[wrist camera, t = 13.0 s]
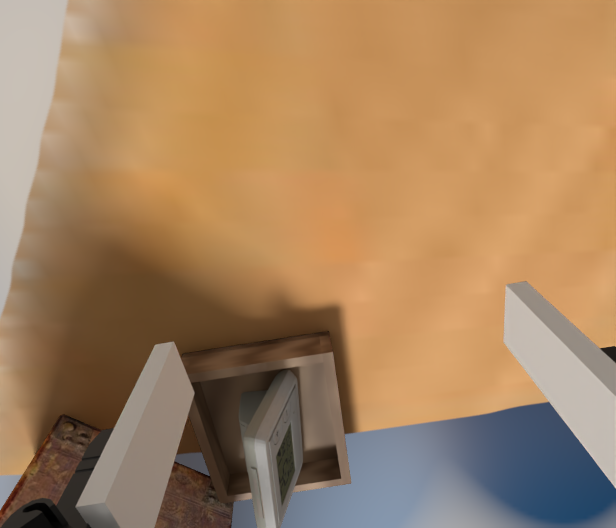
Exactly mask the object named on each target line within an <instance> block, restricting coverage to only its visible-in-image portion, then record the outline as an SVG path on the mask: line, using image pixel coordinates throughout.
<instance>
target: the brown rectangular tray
mask: <svg viewBox="0 0 616 528" xmlns="http://www.w3.org/2000/svg"><path fill="white" fill-rule="evenodd" d="M181 360H182V363H183V365H184V368H185V370H186V373H187V375H188V378H189V380H190V383H191V385H192V388H193V390H194V397H193V400H192V403H191V407H190V410H189V413H188V415H189V418H190V420H191V423H192V426H193V429H194V432H195V435H196V437H197V440H198V443H199V446H200V449H201V451H202V454H203V457H204V460H205V463H206V465H207V468H208V471H209V474H210V477H211V479H212V482H213V485H214V488H215V491H216V494H217V496H218V499H219V502H220V504H221V503H228V502H234V501H241V500H247V499H252V494H251V488H250V482H249V475H248V472H247V467H246V461H245V455H244V448H243V442H242V436H241V430H240V424H239V407H240V399H241V394H242V393H244V392H252V391H264V390H268V389H269V387H270V385H271V383H272V381H273V380H274V378H275V376H276V375H277V374H278V373H279V372H281V371H283V370H291V372H292V373H293V374H294V375H295V376H296V378H297V383H298V395H299V408H300V421H301V435H302V448H303V463H302V467H301V470H300V473H299V476H298V479H297V482H296V484H295V487H294V490H293V492H299V491H306V490H312V489H319V488H325V487H332V486H338V485H345V484H351V477H350V470H349V463H348V456H347V449H346V442H345V435H344V428H343V420H342V413H341V406H340V399H339V392H338V385H337V378H336V371H335V364H334V356H333V350H332V345H331V340H330V335H329V331H327V332H320V333H314V334H307V335H301V336H294V337H288V338H281V339H275V340H268V341H262V342H255V343H249V344H242V345H236V346H229V347H223V348H216V349H210V350H203V351H197V352H191V353H184V354H182V357H181Z"/></svg>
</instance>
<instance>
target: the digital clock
mask: <svg viewBox="0 0 616 528" xmlns="http://www.w3.org/2000/svg"><path fill="white" fill-rule="evenodd" d="M239 424H240V430H241V436H242V442H243V448H244V455H245V461H246V467H247V472H248V475H249V482H250V488H251V494H252V500H253V507H254V513H255V519H256V524H257V527H258V528H280V526H281V524H282V521H283V518H284V515H285V513H286V510H287V507H288V504H289V501H290V499H291V496H292V493H293V490H294V487H295V484H296V482H297V479H298V476H299V473H300V470H301V467H302V463H303V448H302V435H301V421H300V408H299V395H298V383H297V378H296V376H295V375H294V374H293V373H292V372H291V370H283V371H281V372H279V373H278V374H277V375H276V376H275V378H274V380H273V381H272V383H271V385H270V387H269V389H268V390H264V391H252V392H244V393H242V394H241V399H240V407H239Z"/></svg>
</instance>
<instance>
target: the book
mask: <svg viewBox="0 0 616 528" xmlns="http://www.w3.org/2000/svg"><path fill="white" fill-rule="evenodd" d="M101 431H102V430H99V429H97V428H95V427H92V426H90V425H87V424H85V423H83V422H80V421H78V420H76V419H73V418H71V417H68V416H66V415H62V416H60V417H59V419H58V420H57V422H56V423H55V425H54V426H53V428H52V430H51V431H50V433H49V434H48V436H47V438H46V439H45V441H44V442H43V444H42V445H41V447H40V449H39V450H38V452H37V453H36V455H35V456H34V458H33V460H32V461H31V463H30V464H29V466H28V467H27V469H26V471H25V472H24V474H23V475H22V477H21V479H20V480H19V482H18V483H17V485H16V486H15V488H14V490H13V491H12V493H11V494H10V496H9V497H8V499H7V501H6V502H5V504H4V505H3V507H2V509H1V510H0V528H1V527H2V525H3V524H4V522H5V521H6V520H7V519H8V518H9V517H10V516H11V515H12V514H13V513H14V512H15V511H16V510H18V509H19V508H20V507H21V506H23V505H25V504H27V503H29V502H31V501H32V500H36V499H40V498H47V499H51V500H52V501H53V503H54V504H55V505H57V503H58V501H59V499H60V498H61V496H62V494H63V492H64V490H65V488H66V486H67V485H68V483H69V481H70V479H71V477H72V475H73V474H75V470H76V468H77V466H78V464H79V462H80V461H82V457H83V455H84V453H85V451H86V449H87V447H88V446H89V444H90V443H91V442H92V441H93V439H94V438H95V437H96V436H97V435H98V434H99V433H100V432H101ZM233 503H234V502H228V503H221V504H220V502H219V499H218V496H217V494H216V491H215V488H214V485H213V482H212V479H211V477H210V476H208V475H205V474H203V473H201V472H198V471H196V470H193V469H191V468H189V467H186V466H184V465H182V464H179V463H177V462H175V461H174V464H173V467H172V470H171V474H170V477H169V480H168V484H167V487H166V490H165V494H164V497H163V500H162V504H161V507H160V510H159V514H158V517H157V521H156V524H155V527H154V528H231V523H232V513H233Z"/></svg>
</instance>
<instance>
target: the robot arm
mask: <svg viewBox="0 0 616 528" xmlns="http://www.w3.org/2000/svg"><path fill="white" fill-rule="evenodd" d="M504 343H505V345H506V346H507V347H508V349H509V350H510V351H511V353H512V354H513V355H514V356H515V358H516V359H517V360H518V362H519V363H520V364H521V366H522V367H523V368H524V369H525V371H526V372H527V373H528V375H529V376H530V377H531V379H532V380H533V381H534V382H535V384H536V385H537V386H538V388H539V389H540V390H541V392H542V393H543V394H544V395H545V397H546V398H547V399H548V401H549V402H550V403H551V405H552V406H553V407H554V408H555V410H556V411H557V412H558V414H559V415H560V416H561V417H562V419H563V420H564V422H565V423H566V424H567V425H568V426H569V428H570V429H571V431H572V432H573V433H574V435H575V436H576V437H577V438H578V440H579V441H580V442H581V444H582V445H583V446H584V448H585V449H586V450H587V451H588V453H589V454H590V455H591V457H592V458H593V459H594V461H595V462H596V463H597V464H598V466H599V467H600V468H601V470H602V471H603V472H604V474H605V475H606V476H607V477H608V479H609V480H610V481H611V482H612V484H613V485H614V486H615V488H616V347H615V346H612V347H606V348H599V347H597V346H596V345H595V344H594V343H593V342H592V341H591V340H590V339H589V338H588V337H586V336H585V335H584V334H583V333H582V332H581V331H580V330H579V329H578V328H577V327H576V326H574V325H573V324H572V323H571V322H570V321H569V320H568V319H567V318H566V317H565V316H564V315H562V314H561V313H560V312H559V311H558V310H557V309H556V308H555V307H554V306H553V305H552V304H550V303H549V302H548V301H547V300H546V299H545V298H544V297H543V296H542V295H541V294H540V293H538V292H537V291H536V290H535V289H534V288H533V287H532V286H531V285H530V284H529V283H527V282H526V281H525V282H519V283H513V284H507V285H506V295H505V319H504ZM193 397H194V390H193V388H192V385H191V383H190V380H189V378H188V375H187V373H186V370H185V368H184V365H183V363H182V360H181V358H180V355H179V353H178V350H177V348H176V345H175V343H174V341H173V342H168V343H162V344H156V345H155V346H154V348H153V350H152V352H151V354H150V356H149V358H148V360H147V362H146V365H145V367H144V369H143V371H142V373H141V375H140V377H139V379H138V381H137V383H136V385H135V387H134V389H133V391H132V393H131V395H130V397H129V399H128V401H127V403H126V405H125V407H124V409H123V411H122V413H121V415H120V417H119V419H118V421H117V423H116V425H115V427H114V428H112V429H106V430H102V431H101V432H100V433H99V434H98V435H97V436H96V437H95V438H94V439H93V441H92V442H91V443H90V444H89V446H88V447H87V449H86V451H85V453H84V455H83V457H82V461H80V462H79V464H78V466H77V468H76V470H75V474H73V475H72V477H71V479H70V481H69V483H68V485H67V486H66V488H65V490H64V492H63V494H62V496H61V498H60V499H59V501H58V503H57V505H55V504H54V503H53V501H52V500H51V499H47V498H40V499H36V500H32V501H31V502H29V503H27V504H25V505H23V506H21V507H20V508H19V509H18V510H16V511H15V512H14V513H13V514H12V515H11V516H10V517H9V518H8V519H7V520H6V521H5V522H4V524H3V525H2V527H1V528H154V527H155V524H156V521H157V517H158V514H159V510H160V507H161V504H162V500H163V497H164V494H165V490H166V487H167V484H168V480H169V477H170V474H171V470H172V467H173V464H174V460H175V457H176V454H177V450H178V447H179V444H180V440H181V437H182V434H183V430H184V427H185V423H186V420H187V417H188V413H189V410H190V407H191V403H192V400H193Z"/></svg>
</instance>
